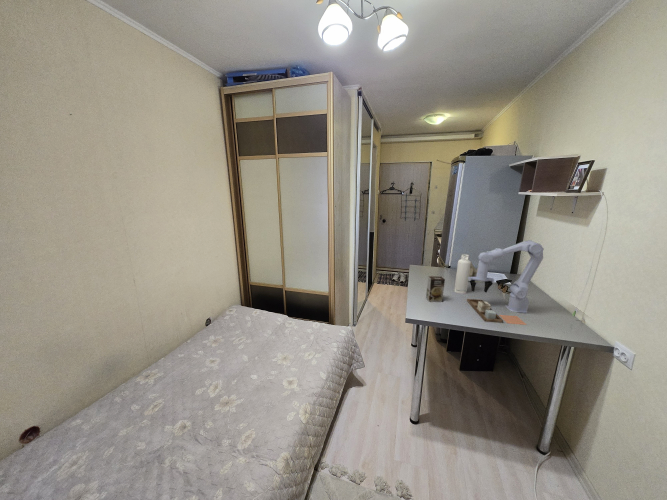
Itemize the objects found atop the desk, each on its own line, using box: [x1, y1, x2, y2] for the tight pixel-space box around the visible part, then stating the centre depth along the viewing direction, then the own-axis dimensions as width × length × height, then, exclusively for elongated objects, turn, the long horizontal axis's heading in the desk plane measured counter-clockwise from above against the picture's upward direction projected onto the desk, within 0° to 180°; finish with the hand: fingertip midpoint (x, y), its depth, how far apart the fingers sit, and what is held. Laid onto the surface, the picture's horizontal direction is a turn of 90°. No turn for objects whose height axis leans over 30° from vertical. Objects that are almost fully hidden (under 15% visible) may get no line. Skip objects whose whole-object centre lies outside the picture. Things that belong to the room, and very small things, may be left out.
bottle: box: [454, 253, 472, 295], centre depth 180 cm, size 8×8×28 cm
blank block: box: [485, 309, 497, 319], centre depth 144 cm, size 4×4×4 cm
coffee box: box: [425, 275, 446, 303], centre depth 167 cm, size 9×6×16 cm
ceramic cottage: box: [468, 261, 485, 283], centre depth 206 cm, size 16×16×15 cm
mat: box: [498, 314, 528, 326], centre depth 143 cm, size 10×10×1 cm
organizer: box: [466, 298, 504, 324], centre depth 153 cm, size 10×27×2 cm, turn 172°
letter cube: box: [477, 301, 492, 312], centre depth 153 cm, size 5×5×5 cm
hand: (478, 291), depth 159 cm, fingers open, 7 cm apart
